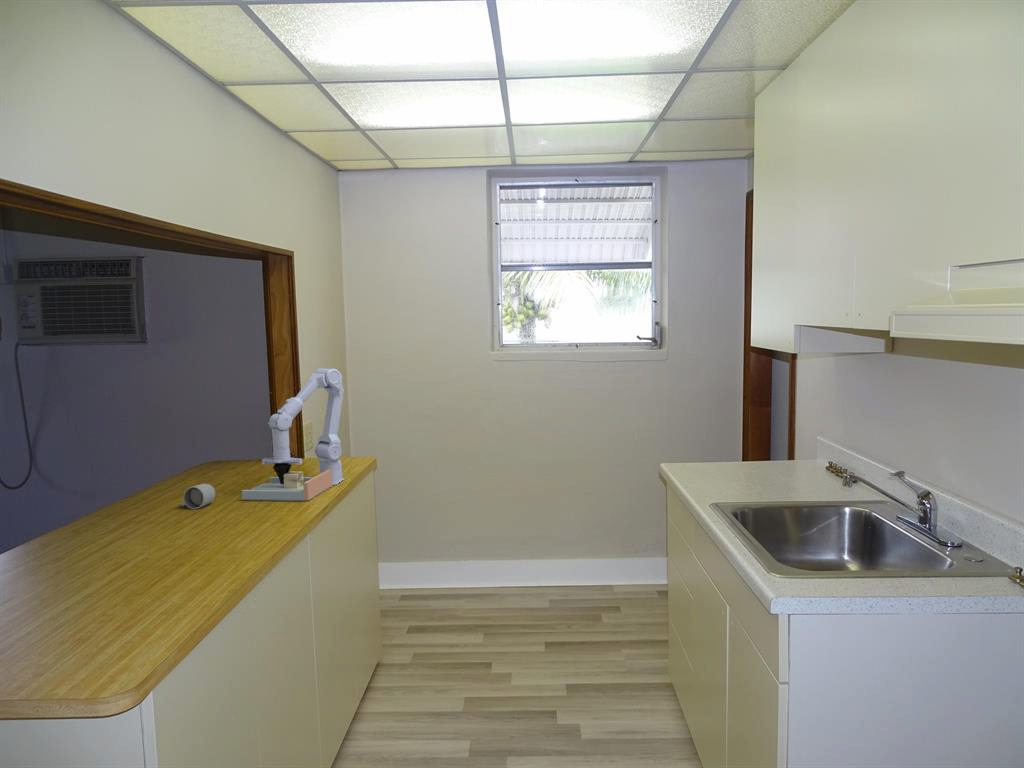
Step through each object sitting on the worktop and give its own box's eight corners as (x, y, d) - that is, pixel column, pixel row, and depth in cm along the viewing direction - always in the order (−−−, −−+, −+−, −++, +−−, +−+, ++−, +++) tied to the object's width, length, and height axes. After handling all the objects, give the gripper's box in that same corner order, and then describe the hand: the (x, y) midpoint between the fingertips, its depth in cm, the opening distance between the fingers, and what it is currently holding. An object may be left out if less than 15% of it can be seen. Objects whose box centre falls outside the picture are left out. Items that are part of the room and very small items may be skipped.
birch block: (290, 484, 249) (290, 471, 249) (303, 485, 248) (303, 471, 248) (284, 488, 244) (283, 474, 244) (297, 488, 243) (296, 474, 243)
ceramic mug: (218, 502, 236) (216, 481, 236) (204, 509, 228) (202, 486, 228) (189, 503, 238) (187, 481, 237) (175, 509, 230) (173, 487, 229)
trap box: (271, 485, 259) (270, 469, 258) (332, 486, 255) (331, 469, 255) (242, 500, 238) (241, 482, 238) (308, 501, 235) (307, 483, 234)
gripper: (256, 448, 243) (259, 486, 244) (295, 449, 240) (297, 486, 242) (266, 445, 250) (268, 481, 251) (304, 445, 247) (306, 481, 249)
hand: (283, 483), depth 247 cm, fingers closed
